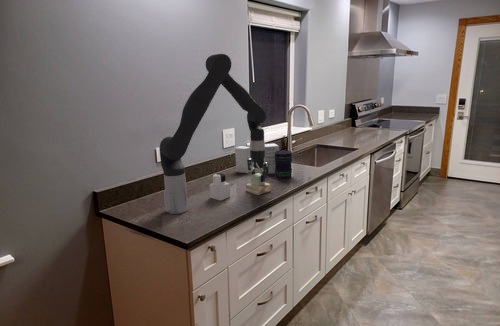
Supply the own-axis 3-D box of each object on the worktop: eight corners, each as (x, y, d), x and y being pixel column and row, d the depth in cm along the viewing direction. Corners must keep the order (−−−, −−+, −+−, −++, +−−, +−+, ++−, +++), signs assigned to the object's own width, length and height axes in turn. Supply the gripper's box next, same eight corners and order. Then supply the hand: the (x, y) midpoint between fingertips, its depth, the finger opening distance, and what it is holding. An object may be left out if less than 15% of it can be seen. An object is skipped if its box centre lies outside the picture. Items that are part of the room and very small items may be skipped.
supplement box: (279, 173, 214) (279, 145, 210) (264, 174, 212) (264, 146, 208) (275, 169, 223) (275, 143, 219) (261, 170, 221) (260, 144, 217)
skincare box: (252, 171, 220) (251, 146, 216) (246, 173, 214) (246, 148, 211) (241, 169, 224) (240, 145, 220) (235, 172, 219) (234, 147, 215)
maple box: (257, 195, 176) (257, 188, 175) (246, 191, 183) (245, 184, 182) (270, 191, 182) (270, 184, 181) (258, 187, 189) (258, 180, 188)
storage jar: (291, 174, 209) (291, 150, 206) (292, 179, 200) (292, 153, 196) (275, 174, 210) (274, 150, 207) (274, 179, 201) (274, 154, 197)
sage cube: (257, 186, 178) (257, 176, 177) (251, 184, 182) (251, 174, 180) (265, 184, 181) (264, 174, 180) (258, 182, 185) (258, 172, 184)
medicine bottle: (220, 194, 179) (219, 171, 176) (230, 196, 174) (229, 173, 172) (210, 198, 174) (208, 174, 171) (220, 201, 169) (219, 177, 166)
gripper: (242, 147, 180) (243, 179, 184) (261, 151, 169) (262, 185, 173) (253, 145, 184) (254, 176, 189) (272, 149, 174) (273, 181, 178)
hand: (258, 180), depth 181 cm, fingers open, 6 cm apart
